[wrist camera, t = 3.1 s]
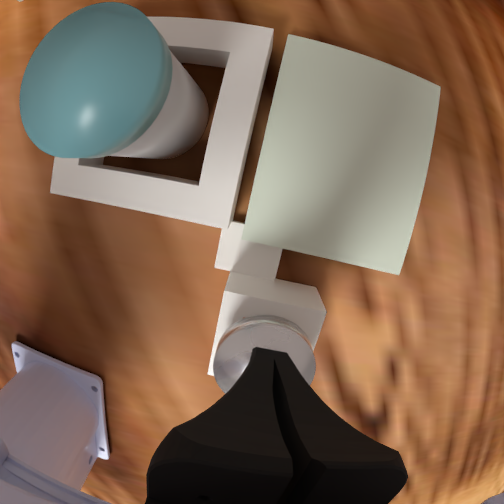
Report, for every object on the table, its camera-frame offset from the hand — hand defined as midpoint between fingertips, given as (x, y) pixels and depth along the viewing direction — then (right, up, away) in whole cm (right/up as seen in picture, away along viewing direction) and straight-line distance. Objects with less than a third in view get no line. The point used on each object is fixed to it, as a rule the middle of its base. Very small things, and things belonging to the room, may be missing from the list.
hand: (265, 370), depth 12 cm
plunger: (0, +1, +3) cm, 4 cm away
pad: (+4, +9, +3) cm, 10 cm away
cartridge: (-5, +11, +2) cm, 12 cm away
